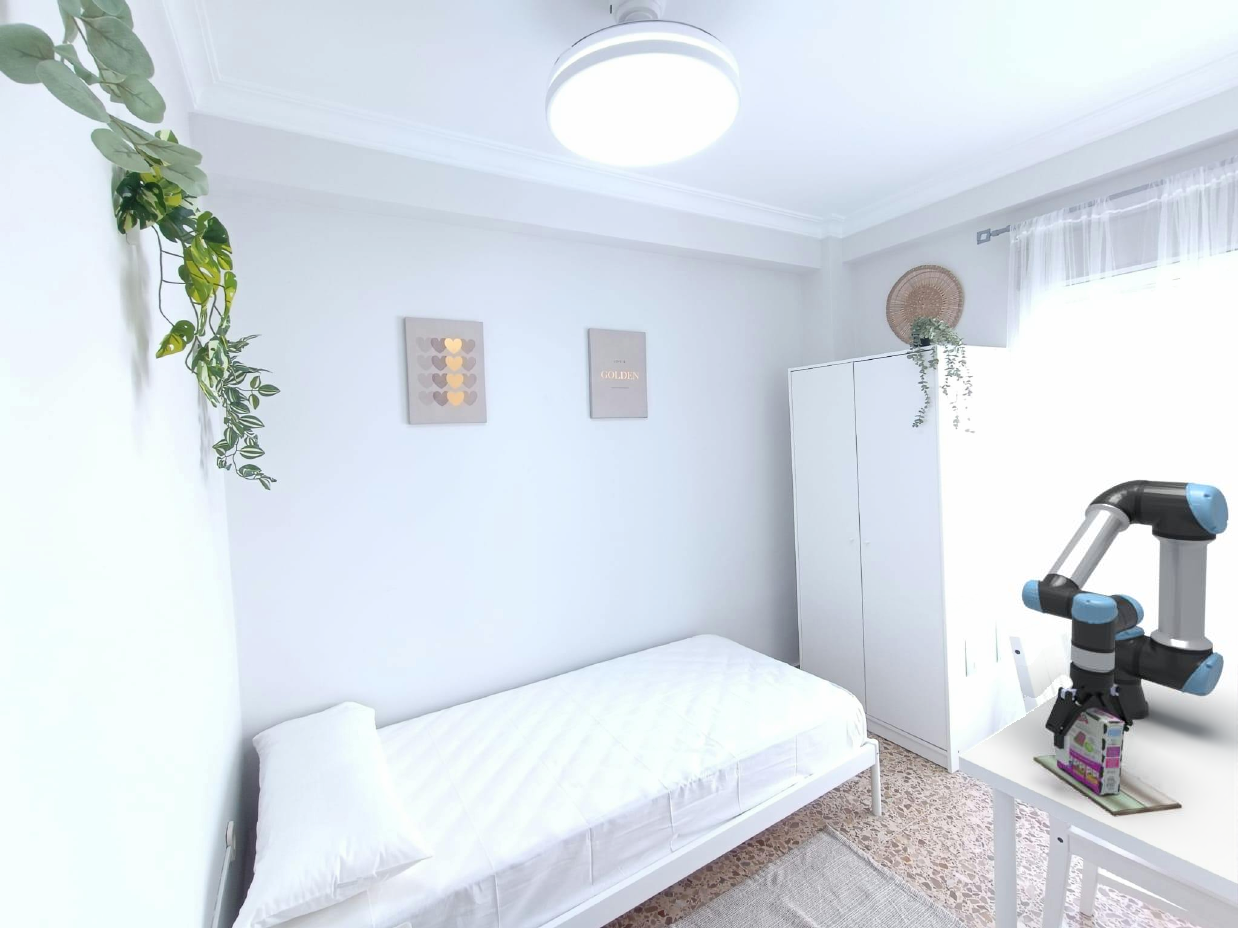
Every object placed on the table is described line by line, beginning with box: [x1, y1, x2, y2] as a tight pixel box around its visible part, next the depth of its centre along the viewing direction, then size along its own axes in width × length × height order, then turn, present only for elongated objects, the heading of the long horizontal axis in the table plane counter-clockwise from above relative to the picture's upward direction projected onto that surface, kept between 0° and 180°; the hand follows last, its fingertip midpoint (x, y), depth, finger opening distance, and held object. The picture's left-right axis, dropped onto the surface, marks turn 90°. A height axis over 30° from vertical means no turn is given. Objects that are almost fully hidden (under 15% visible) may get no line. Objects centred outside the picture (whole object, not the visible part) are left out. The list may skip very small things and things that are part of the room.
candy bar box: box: [1057, 701, 1125, 795], centre depth 129 cm, size 11×5×16 cm, turn 7°
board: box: [1033, 754, 1183, 817], centre depth 131 cm, size 16×20×1 cm
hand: (1087, 758), depth 130 cm, fingers open, 12 cm apart
